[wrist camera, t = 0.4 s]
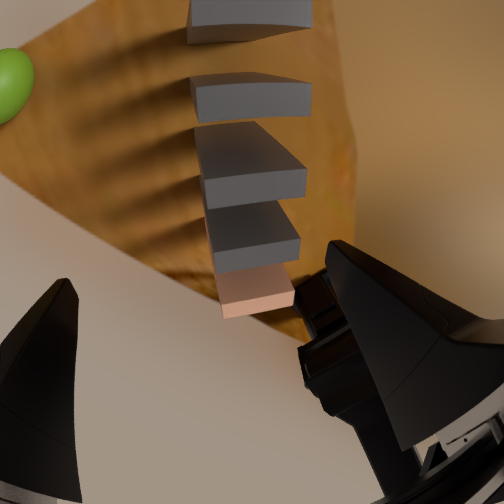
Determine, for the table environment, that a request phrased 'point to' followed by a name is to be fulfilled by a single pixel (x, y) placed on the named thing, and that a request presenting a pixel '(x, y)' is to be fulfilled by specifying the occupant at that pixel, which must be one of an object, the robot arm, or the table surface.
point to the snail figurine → (14, 82)
